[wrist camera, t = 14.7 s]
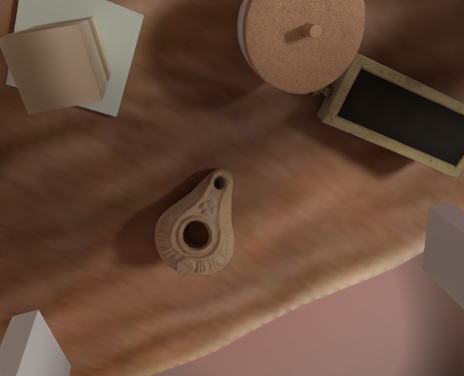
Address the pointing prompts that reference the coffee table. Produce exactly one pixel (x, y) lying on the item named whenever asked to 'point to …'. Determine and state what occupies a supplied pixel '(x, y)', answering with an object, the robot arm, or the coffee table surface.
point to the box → (396, 114)
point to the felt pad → (111, 30)
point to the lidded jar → (300, 40)
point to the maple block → (58, 64)
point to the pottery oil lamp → (198, 228)
